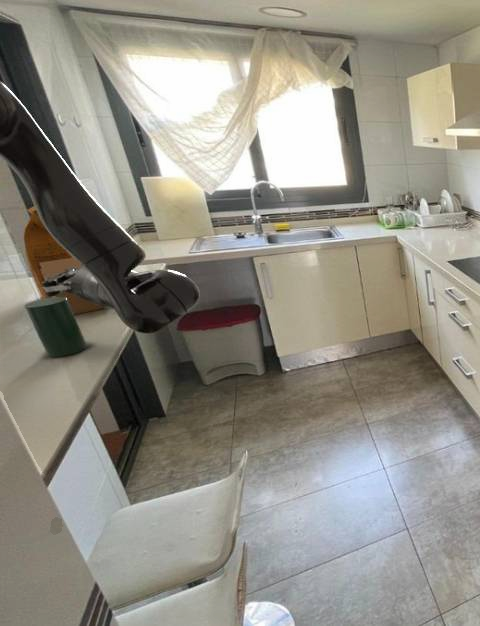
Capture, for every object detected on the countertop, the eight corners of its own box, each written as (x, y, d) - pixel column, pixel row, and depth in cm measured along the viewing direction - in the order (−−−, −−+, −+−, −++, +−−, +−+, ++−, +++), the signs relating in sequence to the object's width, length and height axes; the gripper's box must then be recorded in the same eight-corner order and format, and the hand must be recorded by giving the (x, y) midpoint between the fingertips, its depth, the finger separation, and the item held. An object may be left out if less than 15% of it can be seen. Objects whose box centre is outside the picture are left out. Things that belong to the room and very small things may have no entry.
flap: (101, 270, 106) (100, 269, 106) (47, 279, 100) (47, 278, 100) (92, 255, 108) (92, 254, 108) (39, 263, 102) (39, 262, 102)
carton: (115, 305, 110) (101, 269, 106) (64, 316, 103) (47, 278, 100) (104, 295, 116) (90, 260, 113) (55, 305, 110) (39, 268, 107)
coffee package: (98, 283, 125) (65, 202, 116) (96, 295, 116) (60, 208, 108) (45, 292, 119) (7, 206, 110) (39, 304, 110) (-3, 212, 102)
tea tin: (46, 360, 84) (22, 309, 80) (49, 350, 88) (26, 301, 84) (86, 351, 87) (65, 302, 83) (87, 342, 91) (67, 294, 87)
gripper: (150, 256, 84) (107, 246, 92) (51, 276, 73) (12, 262, 81) (163, 295, 87) (121, 282, 94) (70, 319, 76) (31, 302, 84)
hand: (71, 273), depth 88 cm, fingers closed
